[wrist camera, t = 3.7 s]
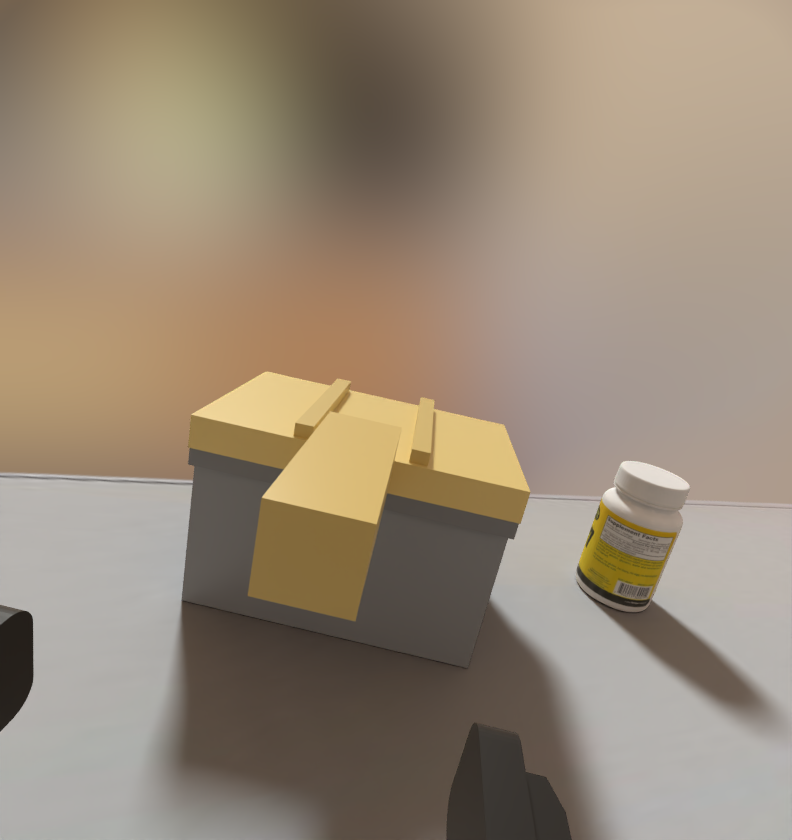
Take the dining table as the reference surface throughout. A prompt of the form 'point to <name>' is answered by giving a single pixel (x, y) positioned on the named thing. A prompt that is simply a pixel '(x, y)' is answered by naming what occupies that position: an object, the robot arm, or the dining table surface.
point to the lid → (349, 478)
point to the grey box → (387, 575)
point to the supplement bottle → (632, 536)
